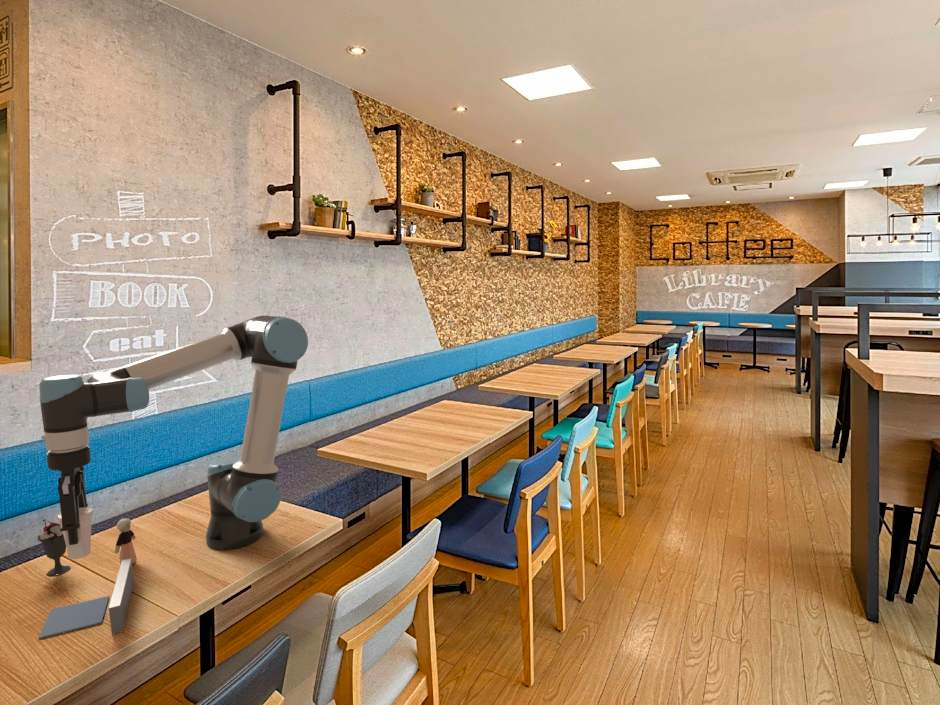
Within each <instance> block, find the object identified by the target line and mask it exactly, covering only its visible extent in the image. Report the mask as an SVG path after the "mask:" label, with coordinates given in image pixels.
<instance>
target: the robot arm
mask: <svg viewBox="0 0 940 705" xmlns="http://www.w3.org/2000/svg"><path fill="white" fill-rule="evenodd" d="M308 346H309V338H308V333H307V331H306V329H305V328H304V326H303V325H302V324H301V323H300V322H298V321H297V320H296V319H293V318H290V317H287V316H275V315H271V316H270V315H260V316H255V317H251V318H249V319H246V320H245V321H242V322H239V323H237V324H234V325H231V326H229V327H228V326H227V327H225V328H224V329H223V330H222V332H221V333H219V334H215V335H213V336H210V337H207V338H204V339H201V340H199V341H198V340H197V341H195V342H192V343H189V344H186V345H184V346H180V347H177V348H174V349H172V350H168V351H166V352H162V353H159V354H156V355H153V356H151V357H147V358H144V359H141V360H138V361H135V362H133V363H129V364H126V365H124V366H122V367H117V368H115V369H114V368H113V369H112V370H104V371H102V370H101V371H96V372H94V373H92V374H91V375H89V376H88V378H87V379H86V380H85V381H84V379H83V377H82V376H81V375H79V374H62V375H54V376H48V377H45V378H43V379H41V381H40V382H39V403H40V411H41V412H40V413H41V418H42V426H43V432H44V435H43V434H42V435H41V437H40V439H41V440H45V450H47V453H46V462H47V469H49V470H51V471H55V472H56V471H58V472H61V474H60V476H59V477H58V478H57V479H58V480H57V481H58V482H57V483H58V485H57V492H58V496H59V507H60V514H61V519H62V528H61V529H60V531H65V534H66V543H67V546H66V550H67V558H68V560H70V559H71V560H73V559H72V558H77V557H82V556H84V547H83V537H82V528H81V526H80V523H79V508H81V507H89V506H88V505H89V504H88V499H87V491H86V481H85V471H84V470H85V467H84V466H87V465H88V464H90V463H91V462H92V457H91V456H92V455H91V447H90V446H89V444H90V433H89V425H88V418H94V417H101V416H107V415H108V416H109V415H116V414H123V413H128V412H130V413H133V412H135V411H140V410H145V409H146V408H148V407H149V404H150V390H151V389H154V388H157V387H159V386H162V385H165V384H168V383H171V382H173V381H175V380H178V379H181V378H184V377H187V376H189V375H192V374H195V373H197V372H201V371H203V370H206V369H209V368H211V367H214V366H217V365H220V364H222V363H226V362H229V361H231V360H234V361H237V362H238V361H241V360H245V359H249V358H251V361H250V364H251V366H252V367H253V368H254V371H255V372H254V378H253V385H252V390H251V395H250V400H249V406H248V412H247V417H246V423H245V430H244V434H243V440H242V446H241V451H240V456H234V457H227V458H223V459H219V460H216V461H213V462H211V463H210V464H209V465H208V466H207V468H206V473H207V474H206V478H207V487H208V488H207V489H208V497H209V509H210V518H209V522H208V526H207V531H206V534H205V539H206V540H205V541H206V545H207V546H208V547H210V548H211V549H214V550H232V549H233V550H234V549H238V548H242V547H245V546H248V545H251V544H253V543H254V542H256V541H258V540H259V539H260V538H262V536H263V535H264V524H263V520H266V519H268V518H269V516H272V514H274V513H275V512H276V511H277V509H278V507H279V505H280V503H281V501H282V491H281V488H280V486H279V485H278V483H277V480H278V473H279V468H278V467H277V465H276V464H275V457H276V451H277V446H278V442H279V441H278V440H279V434H280V430H281V429H280V428H281V423H282V417H283V411H284V407H285V401H286V400H285V399H286V396H287V395H286V394H287V388H288V383H289V377H290V375H291V374H292V373H294V372H295V371H296V370H297V366H298V361H299V360H300V359H301V358H302V357H304V355H305V354H306V352H307V350H308ZM82 558H83V557H82Z"/></svg>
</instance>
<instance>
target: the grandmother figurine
mask: <svg viewBox="0 0 940 705" xmlns="http://www.w3.org/2000/svg"><path fill="white" fill-rule="evenodd" d="M131 524H132V521H131V519H130V518H121V519H119V521H118V522H117V523H116V525H115V526H116V529H117V530H118V531H119V532H120V533H119V535H118V538H117V540H116V543H115V549H114V553H115V554H119V564H120V565H121V561H122V560H126V559H131V560H132V566H133V565H135V564H136V563H137V560H138V558H137V555H136V554H137V553H136V551H135V548H134V544H133V541H134V540H135V539H136V535H135V533H134V532H133V530H132V529H131ZM118 569H120V567H118Z"/></svg>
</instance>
